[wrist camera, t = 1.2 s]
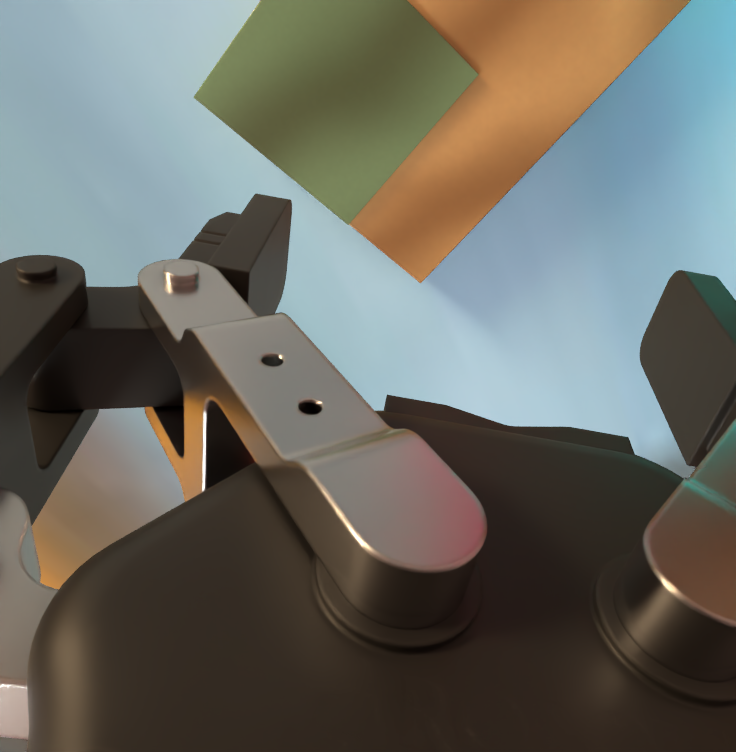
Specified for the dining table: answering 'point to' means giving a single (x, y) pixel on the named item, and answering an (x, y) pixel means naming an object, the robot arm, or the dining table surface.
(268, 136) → the oak board
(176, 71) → the dining table surface
